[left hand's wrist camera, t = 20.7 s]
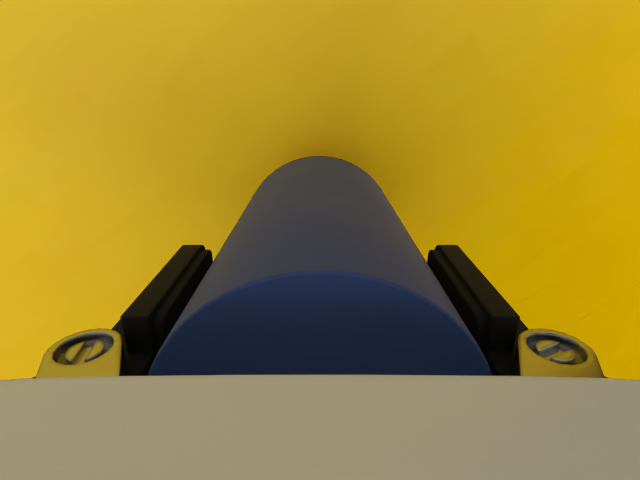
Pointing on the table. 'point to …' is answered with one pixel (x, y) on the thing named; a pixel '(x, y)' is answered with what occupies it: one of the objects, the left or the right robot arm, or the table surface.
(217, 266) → the can
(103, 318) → the table surface
